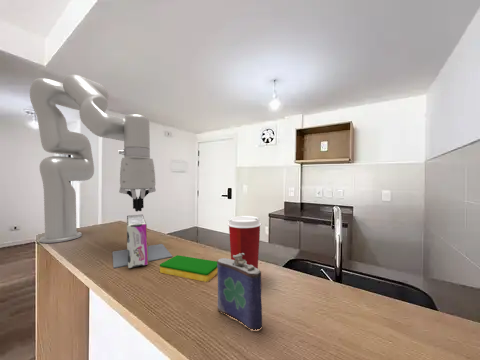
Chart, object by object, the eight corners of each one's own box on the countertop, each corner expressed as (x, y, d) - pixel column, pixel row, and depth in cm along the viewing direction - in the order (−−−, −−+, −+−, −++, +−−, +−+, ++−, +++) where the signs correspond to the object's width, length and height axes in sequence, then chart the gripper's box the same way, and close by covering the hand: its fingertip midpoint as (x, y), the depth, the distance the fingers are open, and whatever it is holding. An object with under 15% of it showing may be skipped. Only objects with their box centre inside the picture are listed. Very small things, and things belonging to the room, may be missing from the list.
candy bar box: (145, 246, 73) (148, 265, 58) (128, 249, 71) (127, 269, 56) (143, 213, 73) (147, 223, 58) (126, 214, 70) (125, 226, 56)
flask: (214, 310, 39) (214, 249, 39) (226, 303, 41) (226, 245, 41) (255, 335, 33) (255, 263, 33) (267, 325, 35) (267, 258, 35)
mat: (112, 252, 69) (112, 251, 69) (162, 244, 77) (162, 243, 77) (113, 268, 57) (113, 267, 57) (172, 257, 65) (172, 256, 65)
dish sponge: (207, 284, 49) (207, 273, 49) (158, 274, 55) (158, 264, 55) (221, 271, 56) (221, 261, 56) (177, 263, 61) (177, 254, 61)
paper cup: (264, 273, 53) (263, 216, 53) (258, 289, 46) (257, 222, 45) (233, 270, 55) (232, 214, 55) (222, 285, 48) (222, 220, 48)
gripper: (110, 152, 64) (112, 214, 65) (163, 154, 72) (164, 210, 72) (110, 154, 71) (111, 211, 71) (159, 156, 78) (159, 207, 79)
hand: (138, 210), depth 72 cm, fingers closed
